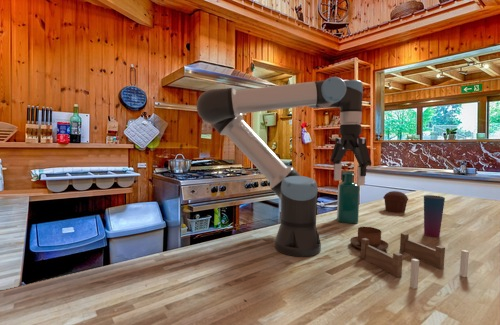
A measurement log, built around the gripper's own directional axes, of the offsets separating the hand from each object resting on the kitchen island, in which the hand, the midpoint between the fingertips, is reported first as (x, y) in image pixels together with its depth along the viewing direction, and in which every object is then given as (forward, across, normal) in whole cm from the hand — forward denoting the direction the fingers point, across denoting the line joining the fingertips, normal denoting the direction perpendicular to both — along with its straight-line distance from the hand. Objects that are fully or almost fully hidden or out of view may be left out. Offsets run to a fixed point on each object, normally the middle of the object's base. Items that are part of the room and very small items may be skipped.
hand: (348, 182), depth 106 cm
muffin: (+21, +24, -51) cm, 60 cm away
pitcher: (+21, +18, -15) cm, 31 cm away
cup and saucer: (+21, -11, 0) cm, 24 cm away
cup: (+21, -10, -32) cm, 40 cm away
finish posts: (+20, -36, 0) cm, 42 cm away
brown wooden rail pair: (+20, -24, 0) cm, 32 cm away
